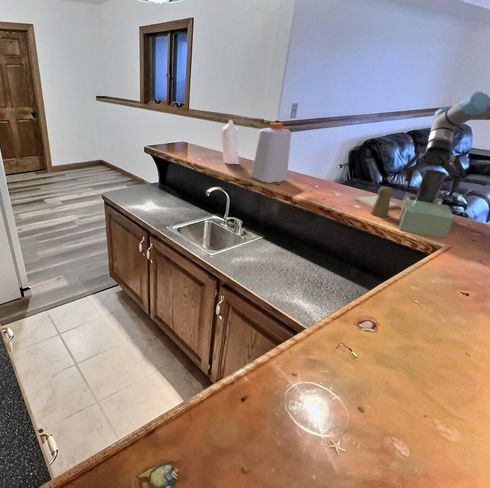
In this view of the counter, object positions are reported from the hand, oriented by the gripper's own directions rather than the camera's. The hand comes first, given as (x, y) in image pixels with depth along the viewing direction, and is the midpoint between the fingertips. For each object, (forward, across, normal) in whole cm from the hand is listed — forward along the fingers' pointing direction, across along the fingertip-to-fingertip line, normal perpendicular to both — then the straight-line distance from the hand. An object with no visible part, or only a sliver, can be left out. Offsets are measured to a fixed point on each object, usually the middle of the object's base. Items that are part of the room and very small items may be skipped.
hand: (428, 191), depth 131 cm
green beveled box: (+15, 0, 0) cm, 15 cm away
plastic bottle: (-8, +65, -24) cm, 70 cm away
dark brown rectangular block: (+5, 0, -7) cm, 9 cm away
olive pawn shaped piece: (+10, +14, -5) cm, 18 cm away
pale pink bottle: (-23, +95, -39) cm, 106 cm away
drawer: (+5, 0, -9) cm, 10 cm away
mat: (0, +15, -15) cm, 22 cm away
